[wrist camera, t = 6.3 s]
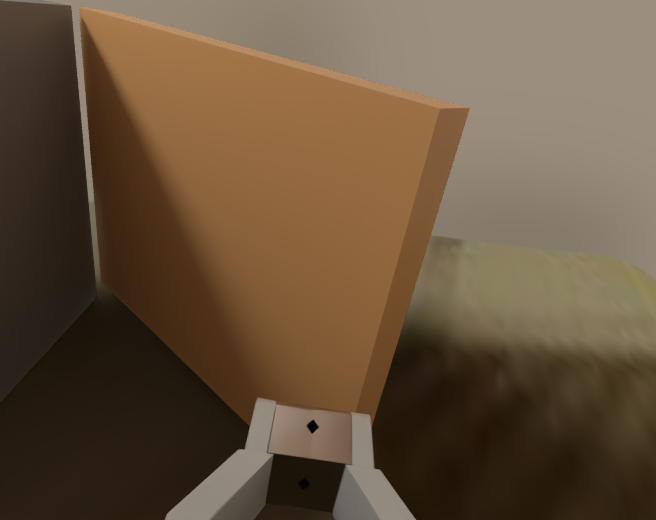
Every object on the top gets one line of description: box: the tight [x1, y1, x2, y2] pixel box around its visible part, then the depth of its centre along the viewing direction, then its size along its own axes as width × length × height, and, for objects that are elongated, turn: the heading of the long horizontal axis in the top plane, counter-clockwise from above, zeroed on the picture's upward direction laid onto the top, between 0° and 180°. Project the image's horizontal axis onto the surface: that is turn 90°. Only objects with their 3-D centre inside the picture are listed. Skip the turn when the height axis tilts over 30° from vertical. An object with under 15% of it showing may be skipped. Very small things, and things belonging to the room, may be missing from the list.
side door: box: [79, 7, 469, 427], centre depth 19 cm, size 3×18×14 cm, turn 48°
